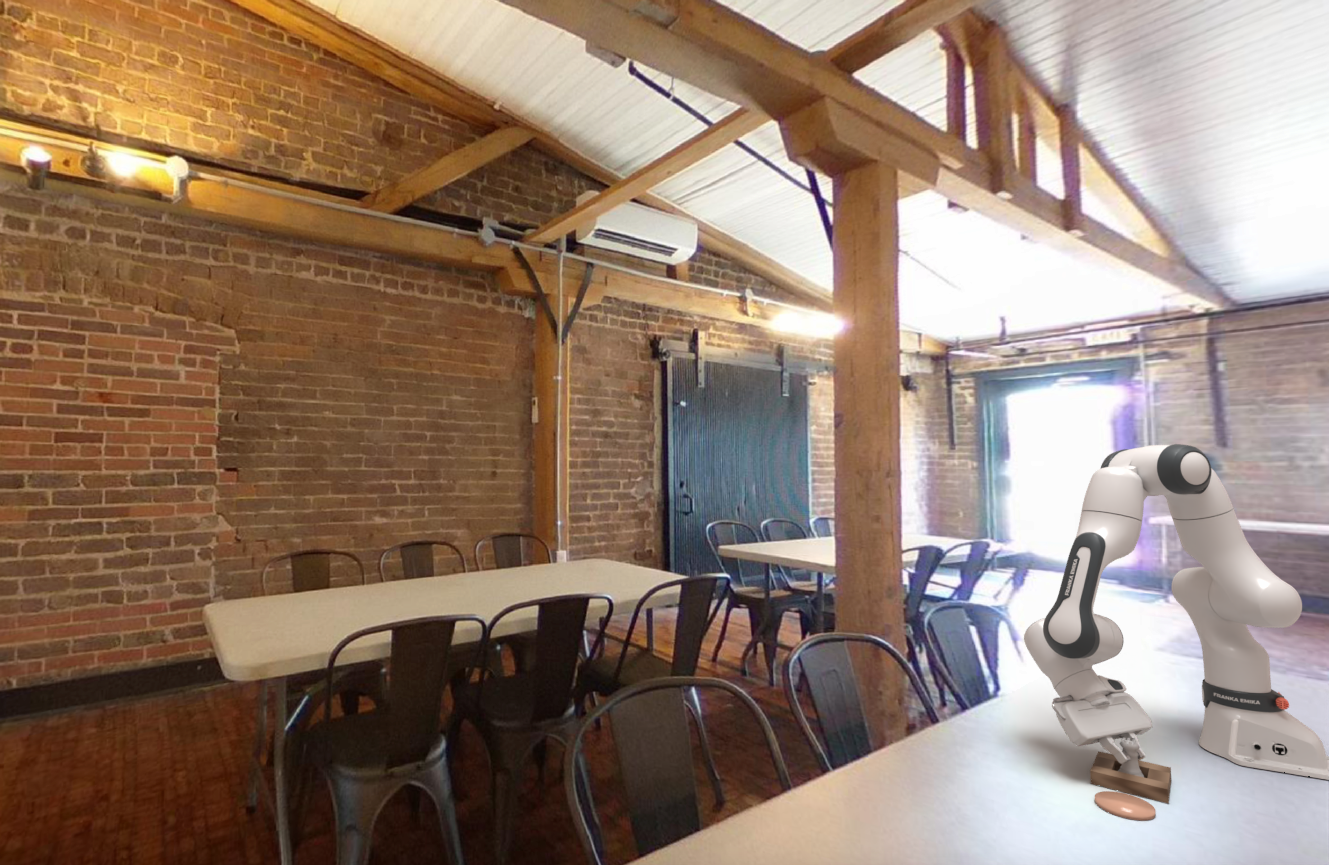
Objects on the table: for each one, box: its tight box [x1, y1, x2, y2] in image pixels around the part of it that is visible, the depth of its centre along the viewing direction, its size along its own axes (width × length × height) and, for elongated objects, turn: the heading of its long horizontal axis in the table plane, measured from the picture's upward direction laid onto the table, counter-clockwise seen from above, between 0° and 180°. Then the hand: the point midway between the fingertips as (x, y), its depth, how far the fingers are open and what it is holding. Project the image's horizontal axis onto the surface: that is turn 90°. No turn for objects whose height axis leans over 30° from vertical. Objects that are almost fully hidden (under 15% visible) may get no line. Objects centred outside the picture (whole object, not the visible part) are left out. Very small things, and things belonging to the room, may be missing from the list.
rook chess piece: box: [1118, 738, 1144, 777], centre depth 128 cm, size 4×4×8 cm
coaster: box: [1094, 790, 1157, 822], centre depth 118 cm, size 9×9×1 cm
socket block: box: [1089, 751, 1172, 804], centre depth 128 cm, size 12×12×2 cm
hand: (1133, 760), depth 128 cm, fingers closed on rook chess piece, 3 cm apart
